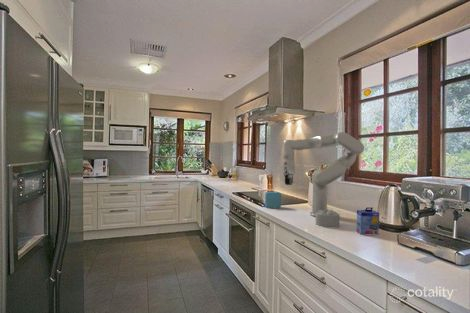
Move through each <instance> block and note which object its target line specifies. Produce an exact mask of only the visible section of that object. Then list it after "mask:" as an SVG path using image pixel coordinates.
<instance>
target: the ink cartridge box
mask: <svg viewBox="0 0 470 313" xmlns="http://www.w3.org/2000/svg"><path fill="white" fill-rule="evenodd" d="M373 209H374V208H373V206H372V207H366V208H365V209H357V210H356V229H355V230H356V231H355V232H357V233H358V234H359V233H360V234H359V235H361V234H378V235H379V230H380V229H379V228H380V226H379V225H380V224H379V223H380V212H379V211H376V210H373Z"/></svg>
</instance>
